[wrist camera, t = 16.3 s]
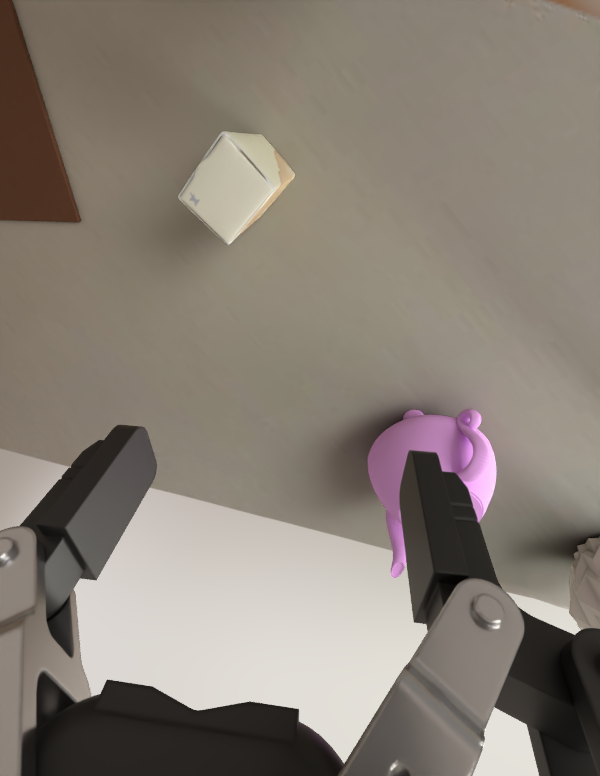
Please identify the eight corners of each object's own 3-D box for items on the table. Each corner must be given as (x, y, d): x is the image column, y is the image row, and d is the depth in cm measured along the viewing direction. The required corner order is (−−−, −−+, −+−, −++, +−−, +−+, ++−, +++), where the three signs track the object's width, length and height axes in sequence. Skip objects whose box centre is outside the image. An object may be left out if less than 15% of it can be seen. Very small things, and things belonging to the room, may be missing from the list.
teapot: (428, 508, 54) (446, 596, 43) (338, 478, 52) (335, 562, 42) (520, 409, 42) (573, 497, 32) (407, 367, 41) (426, 445, 31)
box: (259, 218, 34) (224, 250, 25) (222, 180, 32) (172, 199, 23) (299, 172, 31) (277, 189, 22) (261, 128, 30) (222, 127, 21)
